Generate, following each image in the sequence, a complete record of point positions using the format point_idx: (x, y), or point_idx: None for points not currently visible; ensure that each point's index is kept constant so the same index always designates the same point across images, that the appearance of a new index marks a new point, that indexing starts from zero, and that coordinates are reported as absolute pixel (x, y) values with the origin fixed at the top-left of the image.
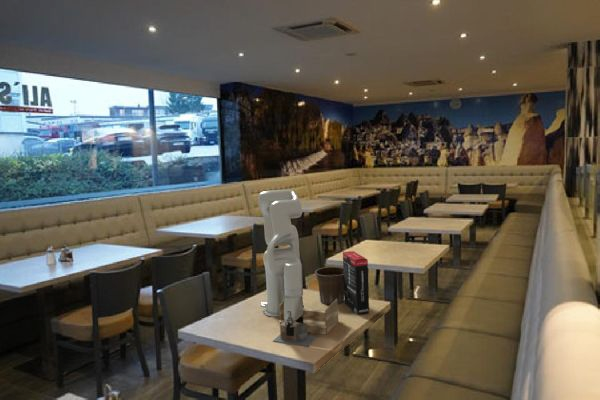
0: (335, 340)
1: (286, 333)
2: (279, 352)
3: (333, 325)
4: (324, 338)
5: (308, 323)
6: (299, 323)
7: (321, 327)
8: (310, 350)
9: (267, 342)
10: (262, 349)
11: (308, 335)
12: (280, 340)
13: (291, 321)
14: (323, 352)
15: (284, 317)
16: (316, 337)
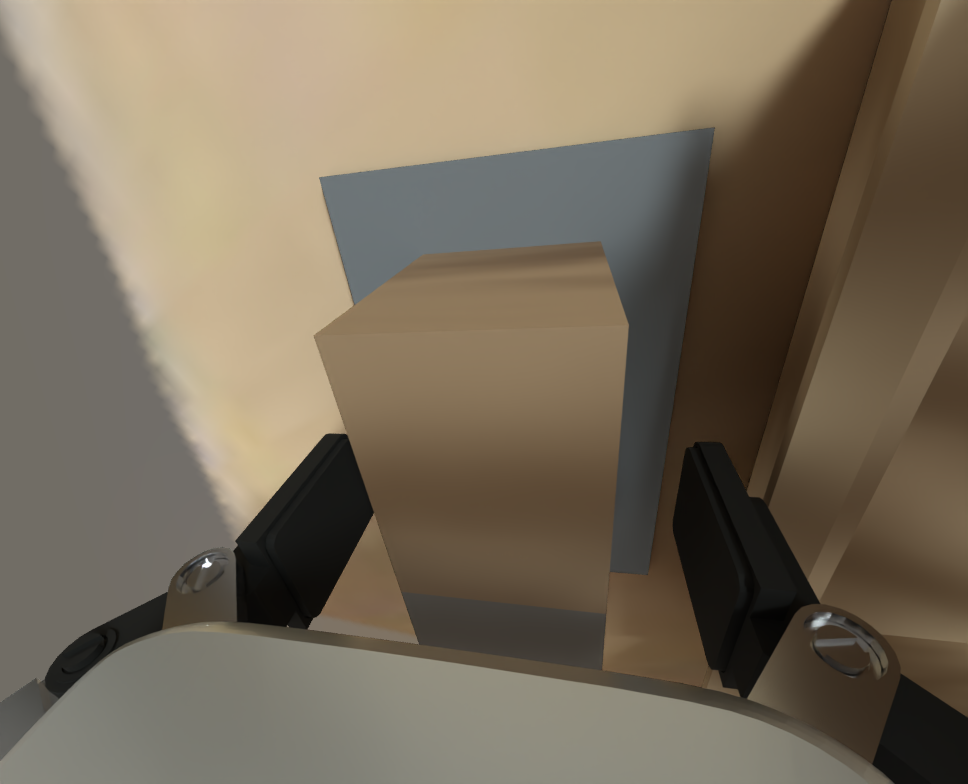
0: (620, 661)
1: (312, 450)
2: (201, 386)
3: (957, 666)
4: (635, 607)
5: (827, 577)
6: (571, 609)
7: (704, 685)
8: (387, 567)
9: (258, 105)
10: (96, 178)
11: (644, 506)
12: (381, 278)
13: (959, 276)
14: (409, 626)
15: (21, 744)
16: (616, 571)
